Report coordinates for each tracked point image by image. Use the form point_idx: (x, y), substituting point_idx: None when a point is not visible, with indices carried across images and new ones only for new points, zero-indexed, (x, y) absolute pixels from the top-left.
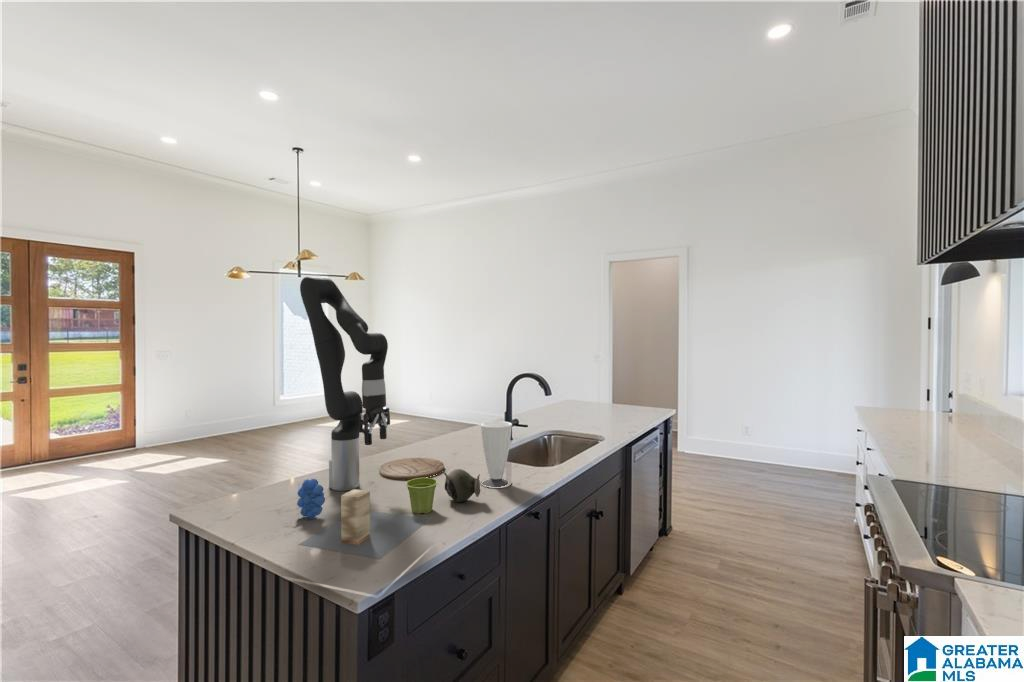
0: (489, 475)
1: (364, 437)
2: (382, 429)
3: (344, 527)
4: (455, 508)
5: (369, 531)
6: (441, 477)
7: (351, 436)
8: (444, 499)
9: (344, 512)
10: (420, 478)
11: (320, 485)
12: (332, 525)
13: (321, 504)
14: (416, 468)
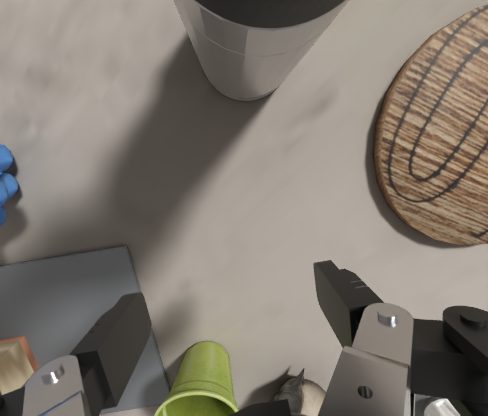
0: (435, 407)
1: (80, 342)
2: (347, 332)
3: None
4: (251, 402)
5: (29, 376)
6: (435, 263)
7: (226, 5)
8: (286, 359)
9: None
10: (228, 403)
11: None
12: (18, 267)
13: None
14: (475, 167)
